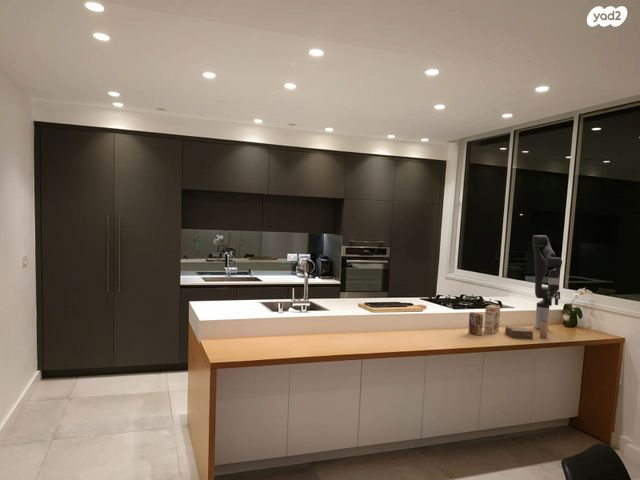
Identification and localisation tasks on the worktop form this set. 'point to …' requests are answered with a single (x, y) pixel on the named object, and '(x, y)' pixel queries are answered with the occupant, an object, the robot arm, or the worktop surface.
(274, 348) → the worktop surface
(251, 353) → the worktop surface
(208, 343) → the worktop surface
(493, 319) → the coffeecake box
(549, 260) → the robot arm
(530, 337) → the walnut base
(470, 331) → the candy box
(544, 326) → the terracotta canister
